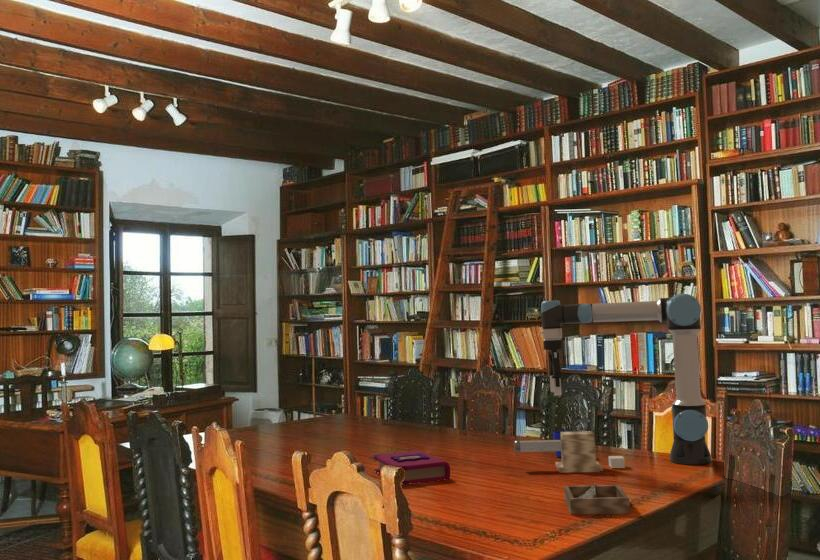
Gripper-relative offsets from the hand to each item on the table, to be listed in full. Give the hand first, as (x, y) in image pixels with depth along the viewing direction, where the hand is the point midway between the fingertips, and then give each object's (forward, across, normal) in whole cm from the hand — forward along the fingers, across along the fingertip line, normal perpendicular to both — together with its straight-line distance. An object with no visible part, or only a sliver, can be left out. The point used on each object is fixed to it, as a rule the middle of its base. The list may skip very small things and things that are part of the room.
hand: (556, 393), depth 292 cm
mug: (+28, -17, +5) cm, 33 cm away
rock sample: (+28, +62, +1) cm, 68 cm away
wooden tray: (+28, +64, +3) cm, 70 cm away
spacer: (+24, +7, +20) cm, 32 cm away
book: (+28, +14, -58) cm, 65 cm away
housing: (+28, +7, +6) cm, 29 cm away
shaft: (+21, +7, -4) cm, 23 cm away
